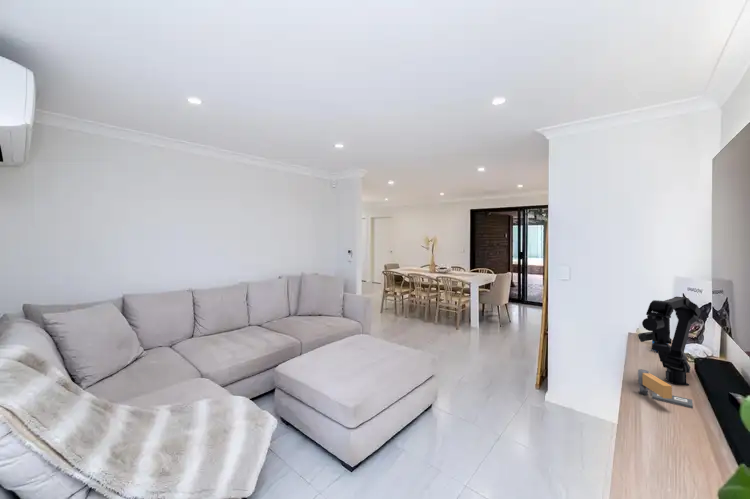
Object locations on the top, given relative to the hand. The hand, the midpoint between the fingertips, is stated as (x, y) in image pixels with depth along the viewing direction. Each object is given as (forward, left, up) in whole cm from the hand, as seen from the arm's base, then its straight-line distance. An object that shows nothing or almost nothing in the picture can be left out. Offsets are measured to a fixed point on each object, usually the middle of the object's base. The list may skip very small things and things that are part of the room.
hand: (662, 361), depth 149 cm
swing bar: (+11, +15, -8) cm, 21 cm away
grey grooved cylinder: (+12, +9, -12) cm, 19 cm away
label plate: (+4, +13, -12) cm, 18 cm away
